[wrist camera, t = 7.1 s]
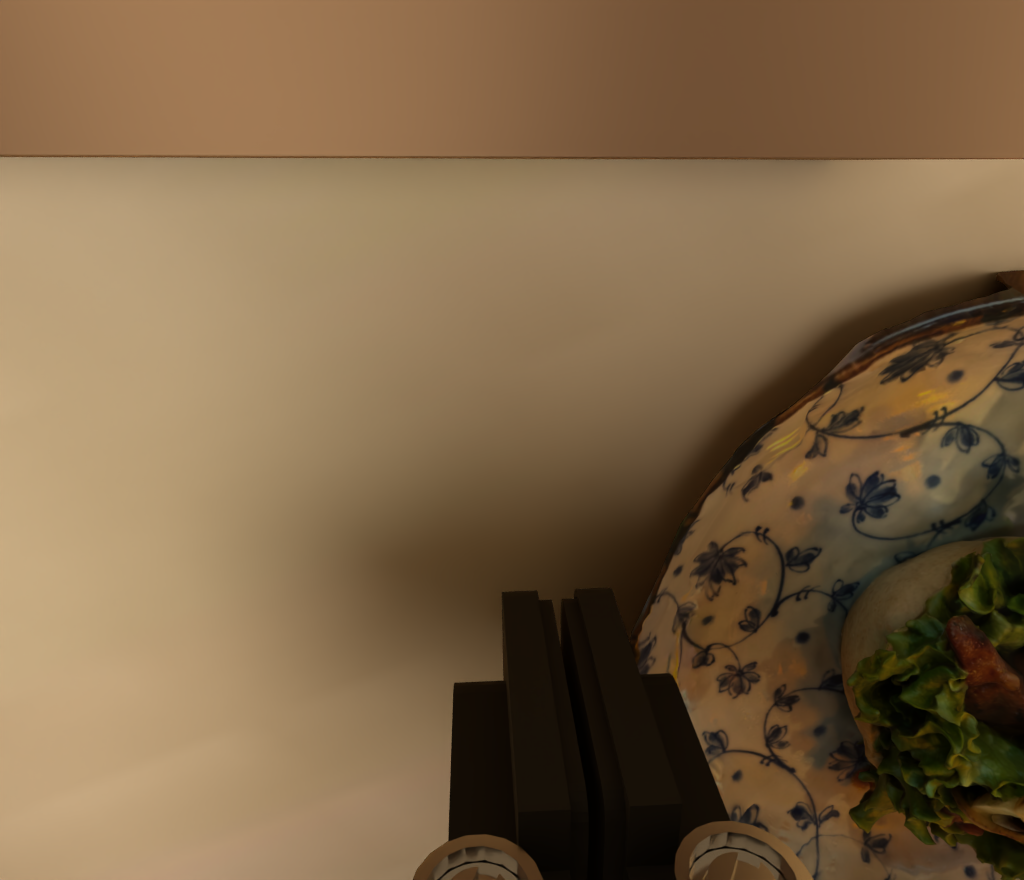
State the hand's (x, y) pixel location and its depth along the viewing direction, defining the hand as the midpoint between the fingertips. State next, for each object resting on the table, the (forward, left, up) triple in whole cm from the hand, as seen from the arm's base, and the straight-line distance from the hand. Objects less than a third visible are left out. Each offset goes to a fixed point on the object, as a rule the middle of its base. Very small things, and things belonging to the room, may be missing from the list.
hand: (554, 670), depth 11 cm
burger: (-7, 0, -2) cm, 7 cm away
